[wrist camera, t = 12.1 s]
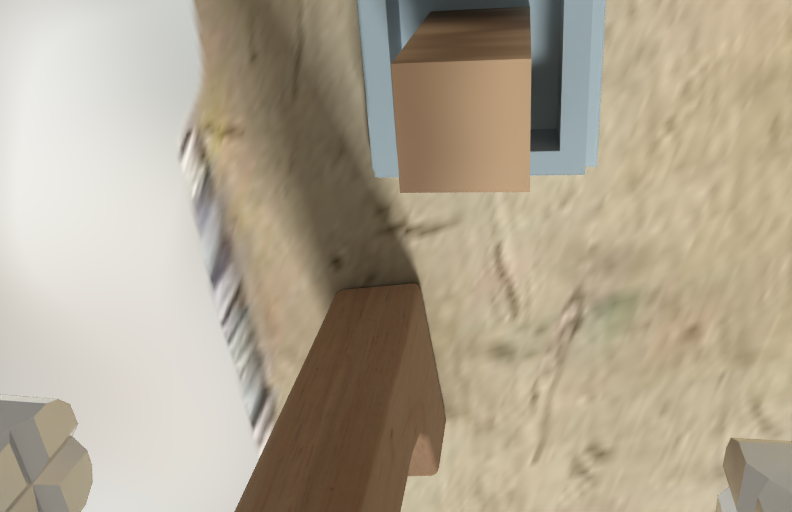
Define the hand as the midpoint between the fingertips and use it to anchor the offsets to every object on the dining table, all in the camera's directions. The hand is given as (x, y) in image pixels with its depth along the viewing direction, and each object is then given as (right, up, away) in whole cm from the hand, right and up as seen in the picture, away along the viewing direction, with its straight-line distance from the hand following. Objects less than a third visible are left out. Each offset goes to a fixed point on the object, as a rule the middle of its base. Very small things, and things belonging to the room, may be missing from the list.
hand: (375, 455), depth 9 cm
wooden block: (0, -3, +30) cm, 30 cm away
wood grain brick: (+4, +11, +21) cm, 24 cm away
